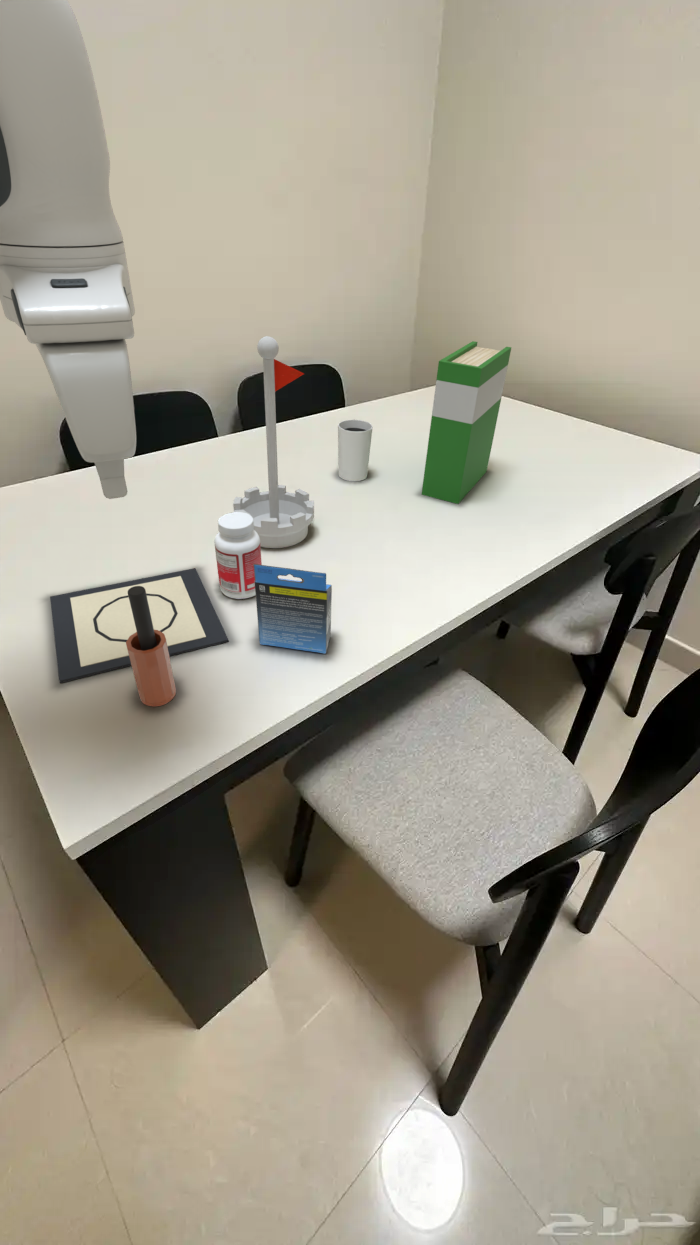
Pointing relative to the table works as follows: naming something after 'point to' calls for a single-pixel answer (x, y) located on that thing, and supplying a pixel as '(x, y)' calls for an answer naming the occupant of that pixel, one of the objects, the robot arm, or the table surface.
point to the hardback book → (463, 420)
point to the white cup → (354, 449)
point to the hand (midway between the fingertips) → (108, 471)
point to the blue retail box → (293, 608)
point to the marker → (142, 617)
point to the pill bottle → (237, 554)
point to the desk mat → (130, 622)
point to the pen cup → (152, 670)
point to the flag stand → (276, 469)
